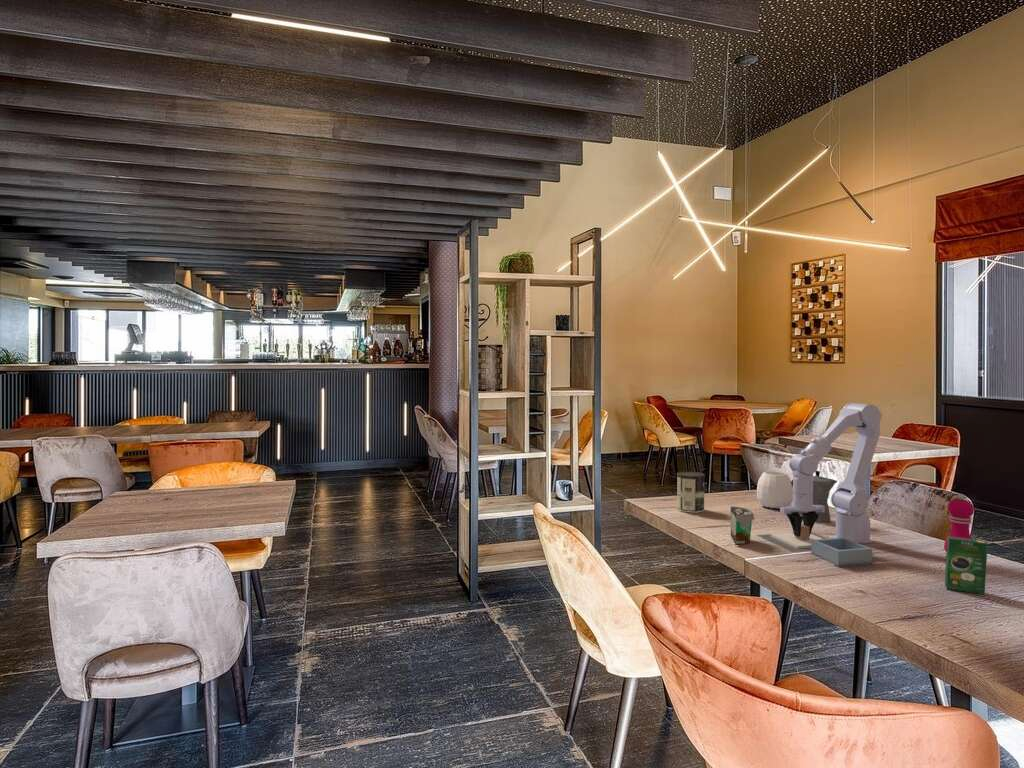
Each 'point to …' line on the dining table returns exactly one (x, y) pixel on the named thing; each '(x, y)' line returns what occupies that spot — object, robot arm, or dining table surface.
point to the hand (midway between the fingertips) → (802, 535)
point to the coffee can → (690, 492)
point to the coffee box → (966, 565)
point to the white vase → (775, 489)
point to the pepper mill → (960, 518)
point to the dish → (842, 552)
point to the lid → (797, 538)
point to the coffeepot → (821, 495)
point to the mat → (786, 546)
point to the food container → (741, 525)
